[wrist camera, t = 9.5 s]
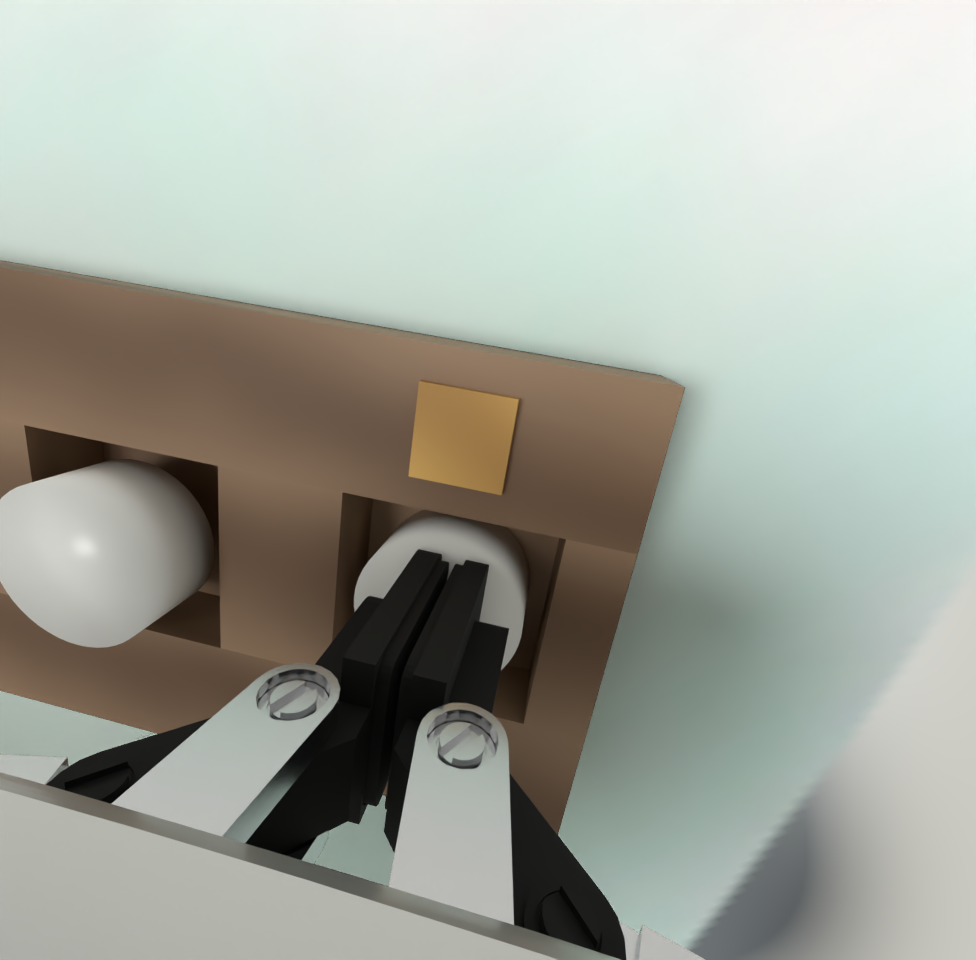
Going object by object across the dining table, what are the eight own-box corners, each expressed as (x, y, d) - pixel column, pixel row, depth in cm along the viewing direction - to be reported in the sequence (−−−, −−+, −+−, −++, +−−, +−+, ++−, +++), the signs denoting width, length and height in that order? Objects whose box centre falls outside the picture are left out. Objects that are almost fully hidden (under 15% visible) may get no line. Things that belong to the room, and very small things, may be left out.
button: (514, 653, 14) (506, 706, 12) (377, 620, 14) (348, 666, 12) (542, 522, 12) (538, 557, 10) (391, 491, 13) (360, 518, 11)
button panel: (557, 762, 15) (555, 849, 13) (-104, 593, 18) (-218, 637, 15) (660, 375, 12) (687, 388, 9) (-198, 225, 14) (-370, 202, 11)
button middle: (215, 616, 13) (156, 665, 11) (81, 584, 13) (2, 625, 12) (212, 476, 12) (146, 503, 10) (65, 444, 12) (-27, 465, 10)
